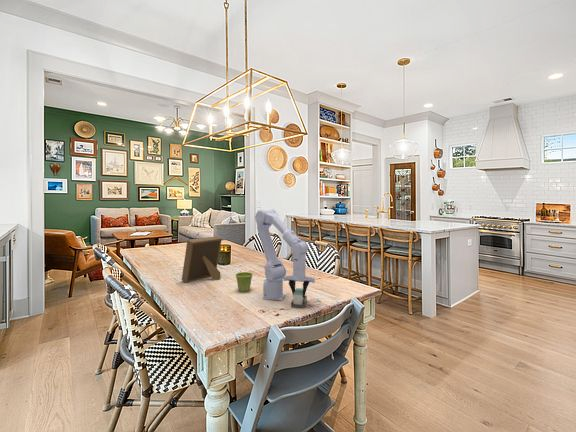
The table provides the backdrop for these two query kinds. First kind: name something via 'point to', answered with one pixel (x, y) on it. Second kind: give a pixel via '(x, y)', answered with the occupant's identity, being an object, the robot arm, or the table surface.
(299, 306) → the grey rectangular tray
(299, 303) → the teal rectangular brick
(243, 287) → the plant pot
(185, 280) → the photo frame
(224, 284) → the table surface
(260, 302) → the table surface
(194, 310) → the table surface
